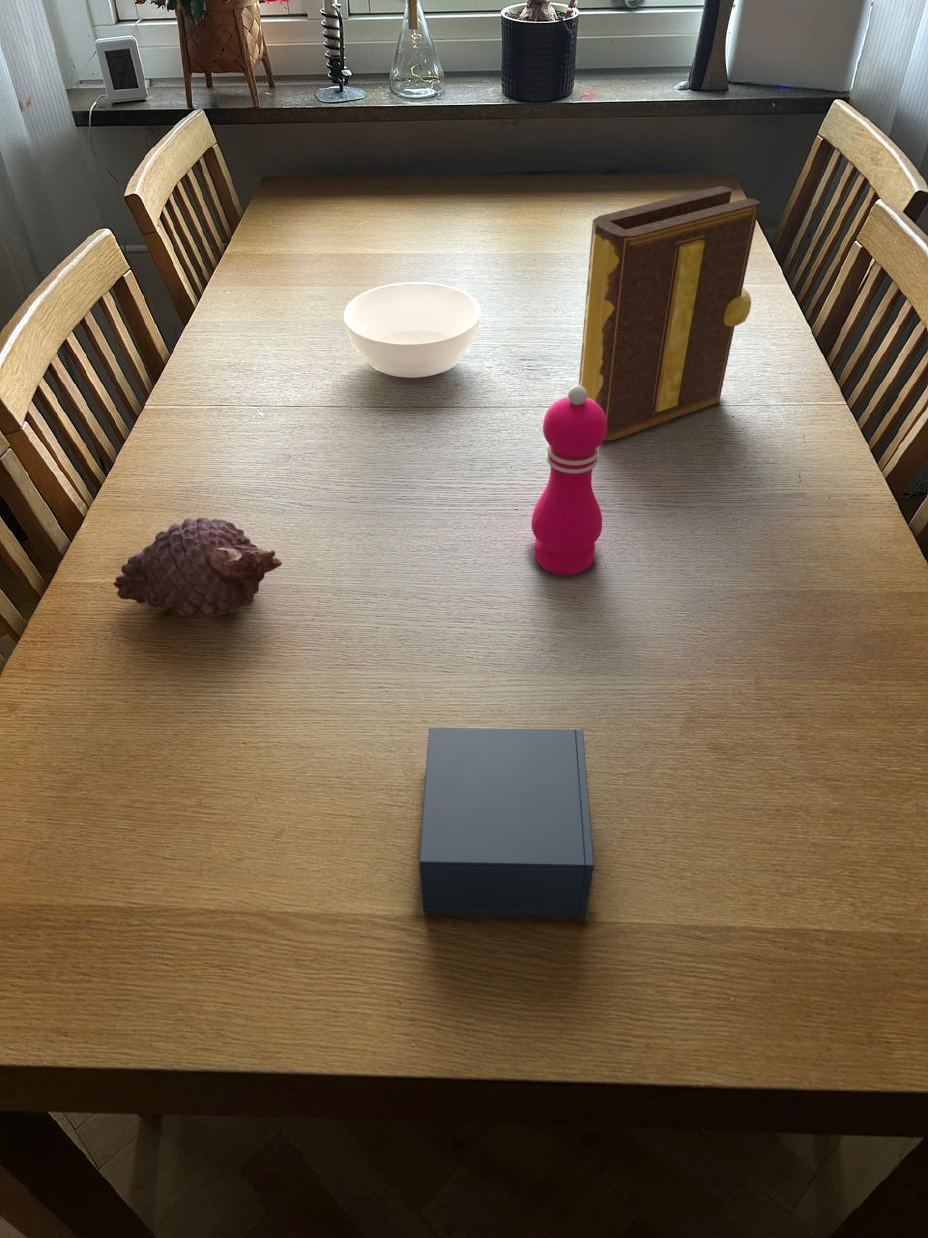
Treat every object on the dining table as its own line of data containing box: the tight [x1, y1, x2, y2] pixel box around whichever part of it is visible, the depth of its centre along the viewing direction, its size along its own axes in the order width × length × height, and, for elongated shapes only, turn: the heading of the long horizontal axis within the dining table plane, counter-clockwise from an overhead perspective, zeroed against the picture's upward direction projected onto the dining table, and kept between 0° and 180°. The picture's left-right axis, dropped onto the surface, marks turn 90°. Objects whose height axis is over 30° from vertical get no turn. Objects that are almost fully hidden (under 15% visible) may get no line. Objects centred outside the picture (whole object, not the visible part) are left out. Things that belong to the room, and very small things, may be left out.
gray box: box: [418, 726, 595, 917], centre depth 70 cm, size 7×12×12 cm
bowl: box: [343, 282, 481, 378], centre depth 126 cm, size 18×18×7 cm
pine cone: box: [112, 517, 283, 619], centre depth 91 cm, size 18×10×10 cm
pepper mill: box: [530, 384, 607, 576], centre depth 91 cm, size 7×7×20 cm
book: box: [578, 185, 761, 443], centre depth 110 cm, size 22×8×25 cm, turn 120°
